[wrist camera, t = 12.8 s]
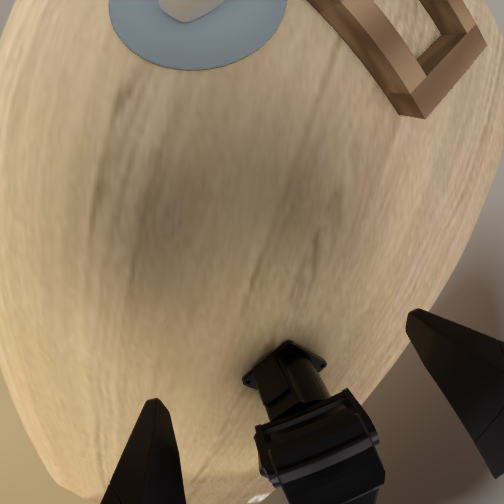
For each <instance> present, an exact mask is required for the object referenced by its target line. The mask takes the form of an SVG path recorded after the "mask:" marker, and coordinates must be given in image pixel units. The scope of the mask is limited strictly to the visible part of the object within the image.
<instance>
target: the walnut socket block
mask: <svg viewBox="0 0 504 504" xmlns="http://www.w3.org/2000/svg"><path fill="white" fill-rule="evenodd" d="M307 1H308V2H309V3H310V4H311V5H312V6H313V7H314V8H315V9H316V10H317V11H318V12H319V13H320V14H321V15H322V16H323V17H324V18H325V19H326V20H327V21H328V22H329V24H330V25H331V26H332V27H333V28H334V29H335V30H336V31H337V32H338V34H339V35H340V36H341V37H342V38H343V39H344V41H345V42H346V43H347V44H348V45H349V47H350V48H351V49H352V50H353V51H354V53H355V54H356V55H357V56H358V58H359V59H360V60H361V61H362V63H363V64H364V65H365V67H366V68H367V69H368V70H369V72H370V73H371V74H372V76H373V77H374V79H375V80H376V81H377V83H378V84H379V85H380V87H381V88H382V90H383V91H384V93H385V94H386V95H387V97H388V98H389V100H390V101H391V103H392V104H393V106H394V107H395V109H396V111H397V112H398V114H399V115H404V116H410V117H416V118H421V119H426V118H427V117H428V116H429V114H430V113H431V112H432V111H433V110H434V109H435V107H436V106H437V105H438V104H439V103H440V102H441V101H442V99H443V98H444V97H445V96H446V95H447V93H448V92H449V91H450V90H451V89H452V88H453V86H454V85H455V84H456V83H457V82H458V80H459V79H460V78H461V77H462V76H463V74H464V73H465V72H466V71H467V70H468V68H469V67H470V66H471V65H472V64H473V62H474V61H475V60H476V59H477V57H478V56H479V55H480V54H481V52H482V51H483V50H484V49H485V47H486V46H487V44H486V42H485V40H484V38H483V36H482V34H481V32H480V30H479V28H478V27H477V25H476V23H475V21H474V19H473V17H472V16H471V14H470V12H469V10H468V9H467V7H466V5H465V4H464V2H463V0H420V2H421V3H422V4H423V6H424V7H425V9H426V10H427V12H428V13H429V15H430V16H431V18H432V19H433V21H434V22H435V24H436V25H437V27H438V29H439V30H440V32H441V33H442V36H441V37H440V38H439V39H437V40H436V41H435V42H434V43H433V44H432V45H431V46H430V47H429V48H428V49H427V50H426V51H425V52H424V53H423V54H422V55H421V56H420V57H419V58H418V59H417V60H416V58H415V57H414V55H413V54H412V52H411V51H410V49H409V48H408V46H407V45H406V43H405V42H404V40H403V39H402V38H401V36H400V35H399V33H398V32H397V31H396V29H395V28H394V27H393V25H392V24H391V22H390V21H389V20H388V19H387V17H386V16H385V15H384V13H383V12H382V11H381V10H380V8H379V7H378V6H377V5H376V4H375V2H374V1H373V0H307Z"/></svg>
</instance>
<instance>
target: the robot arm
mask: <svg viewBox="0 0 504 504" xmlns="http://www.w3.org/2000/svg"><path fill="white" fill-rule="evenodd" d="M406 333H407V335H408V337H409V339H410V340H411V342H412V344H413V345H414V348H415V349H416V351H417V353H418V355H419V357H420V358H421V360H422V362H423V364H424V366H425V367H426V369H427V370H428V372H429V373H430V374H431V376H432V377H433V379H434V380H435V382H436V383H437V385H438V386H439V388H440V389H441V391H442V392H443V394H444V395H445V397H446V398H447V400H448V401H449V403H450V405H451V406H452V408H453V409H454V411H455V412H456V414H457V415H458V417H459V419H460V420H461V422H462V423H463V425H464V427H465V428H466V430H467V431H468V433H469V435H470V436H471V438H472V440H473V441H474V443H475V445H476V446H477V449H478V450H479V452H480V454H481V455H482V457H483V459H484V461H485V462H486V464H487V466H488V468H489V470H490V471H491V473H492V475H493V477H494V478H495V479H496V478H498V477H499V476H501V475H502V474H503V473H504V342H503V341H501V340H498V339H496V338H493V337H491V336H488V335H486V334H483V333H481V332H478V331H475V330H473V329H471V328H468V327H465V326H463V325H460V324H458V323H455V322H453V321H450V320H448V319H445V318H443V317H440V316H437V315H435V314H433V313H430V312H427V311H425V310H422V309H419V308H417V309H414V310H412V311H410V312H409V313H408V317H407V322H406ZM326 365H327V363H326V362H325V360H323V359H321V358H320V357H318V356H316V355H315V354H313V353H311V352H309V351H308V350H306V349H304V348H302V347H301V346H299V345H297V344H296V343H294V342H292V341H286V342H285V343H284V344H282V345H281V346H280V347H279V348H278V349H277V350H276V351H275V352H273V353H272V354H271V355H270V356H269V357H268V358H266V359H265V360H264V361H263V362H262V363H261V364H259V365H258V366H257V367H256V368H255V369H253V370H252V371H251V372H250V373H249V374H247V375H246V376H245V377H244V378H243V379H242V381H243V384H244V385H246V386H248V387H251V388H253V389H256V390H258V391H259V394H260V397H261V400H262V403H263V405H264V406H265V408H266V411H267V414H268V417H269V420H270V422H268V423H266V424H263V425H261V424H260V425H257V426H255V429H256V434H255V436H254V439H255V443H256V446H257V450H258V458H259V471H260V474H261V475H262V476H264V477H266V478H268V479H269V481H270V482H271V483H272V484H273V486H274V487H275V488H276V489H277V488H280V487H282V489H283V491H284V493H285V495H286V497H287V499H288V502H289V504H376V499H377V495H378V491H379V487H381V486H383V485H384V480H385V470H384V469H383V465H382V463H381V460H380V458H379V456H378V453H377V451H376V448H375V447H377V446H379V444H380V443H379V438H378V434H377V432H376V429H375V427H374V425H373V424H372V421H371V419H370V418H369V416H368V415H367V413H366V412H365V411H364V409H363V408H362V407H361V405H360V404H359V403H358V401H357V400H356V399H355V397H354V396H353V395H352V393H351V392H350V391H349V389H348V388H346V389H344V390H342V392H340V393H338V394H336V395H334V396H332V397H331V396H330V394H329V392H328V390H327V388H326V386H325V384H324V382H323V381H322V379H321V377H320V375H319V372H320V371H321V370H322V369H324V368H325V367H326ZM100 504H186V499H185V493H184V486H183V479H182V472H181V464H180V457H179V451H178V447H177V443H176V439H175V434H174V430H173V426H172V421H171V417H170V413H169V411H168V409H167V408H166V407H165V406H164V404H163V403H162V402H161V400H160V399H158V398H154V399H149V400H147V401H146V402H145V404H144V407H143V409H142V411H141V413H140V415H139V417H138V420H137V422H136V424H135V426H134V428H133V431H132V433H131V435H130V437H129V440H128V442H127V444H126V446H125V449H124V451H123V453H122V455H121V458H120V460H119V462H118V464H117V467H116V469H115V471H114V474H113V476H112V478H111V481H110V484H109V485H108V487H107V490H106V492H105V494H104V497H103V499H102V501H101V503H100Z"/></svg>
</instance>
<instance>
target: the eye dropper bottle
mask: <svg viewBox="0 0 504 504" xmlns="http://www.w3.org/2000/svg"><path fill="white" fill-rule="evenodd" d="M224 1H225V0H159V6H160V8H161V9H162V10H163V11H164V12H166V13H167V14H169V15H170V16H172V17H173V18H175V19H176V20H178V21H180V22H190V21H193V20H195V19H197V18H199V17H201V16H203V15H205V14H207V13H209V12H210V11H212V10H213V9H215V8H216V7H218V6H219V5H220V4H222V3H223V2H224Z"/></svg>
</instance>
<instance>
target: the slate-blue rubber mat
mask: <svg viewBox="0 0 504 504" xmlns="http://www.w3.org/2000/svg"><path fill="white" fill-rule="evenodd" d="M286 3H287V0H225V1H224V2H223V3H222V4H220V5H219V6H218V7H216V8H215V9H213V10H212V11H210V12H209V13H207V14H205V15H203V16H201V17H199V18H197V19H195V20H193V21H190V22H180V21H178V20H176V19H175V18H173V17H172V16H170V15H169V14H167V13H166V12H164V11H163V10H162V9H161V8H160V6H159V0H109V14H110V19H111V22H112V25H113V27H114V30H115V31H116V33H117V35H118V36H119V38H120V39H121V40H122V41H123V42H124V44H125V45H126V46H127V47H128V48H129V49H130V50H132V51H133V52H134V53H135V54H137V55H139V56H140V57H142V58H143V59H145V60H147V61H150V62H152V63H154V64H157V65H160V66H163V67H168V68H172V69H180V70H204V69H212V68H216V67H221V66H225V65H228V64H231V63H234V62H236V61H238V60H240V59H243V58H244V57H246V56H248V55H250V54H251V53H253V52H254V51H256V50H257V49H258V48H260V47H261V46H262V45H264V44H265V43H266V42H267V41H268V40H269V39H270V38H271V36H272V35H273V34H274V33H275V31H276V30H277V28H278V27H279V25H280V23H281V21H282V18H283V16H284V13H285V9H286Z"/></svg>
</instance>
